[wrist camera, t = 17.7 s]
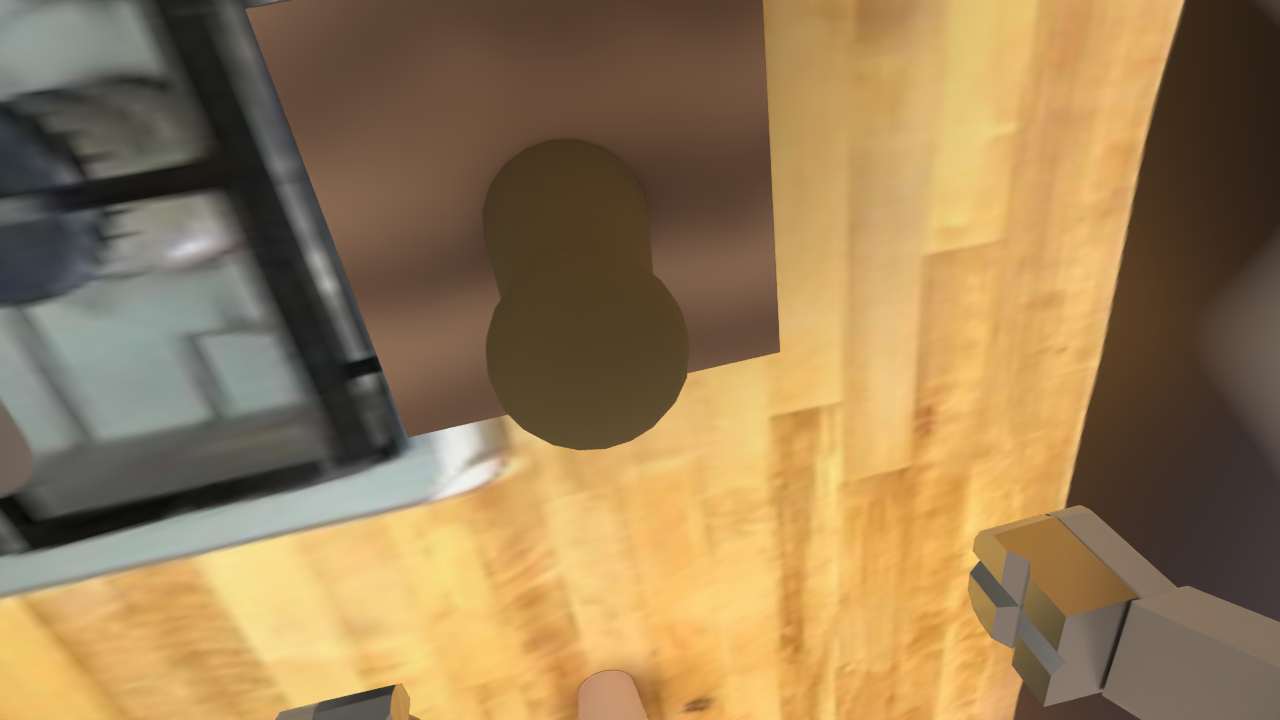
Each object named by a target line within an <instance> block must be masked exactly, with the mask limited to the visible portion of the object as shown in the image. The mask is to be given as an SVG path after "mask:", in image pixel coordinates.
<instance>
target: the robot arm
mask: <svg viewBox="0 0 1280 720" xmlns="http://www.w3.org/2000/svg"><path fill="white" fill-rule="evenodd" d="M973 552H974V553H975V554H976V556H977V557H978V558H979V559H980V561H979V562H978V563H977V565H976V566H975V567H974V568H973V570H972V571H971V572H970V574H969V585H968V591H969V595H970V599H971V603H972V606H973V609H974V611H975V613H976V615H977V617H978V619H979V621H980V623H981V624H982V626H983V627H984V628H985V630H986V631H987V633H988V634H989V635H990V637H991V638H992V639H994V640H996V641H998V642H1000V643H1002V644H1004V645H1006V646H1008V647H1010V648H1012V666H1013V667H1014V669H1015V670H1016V671H1017V672H1018V674H1019V675H1020V676H1021V678H1022V679H1023V680H1024V682H1025V683H1026V684H1027V686H1028V687H1029V688H1030V689H1031V691H1032V692H1033V693H1034V695H1035V696H1036V697H1037V699H1038V700H1039V701H1040V703H1041V704H1042V705H1043V706H1044V707H1045V706H1049V705H1053V704H1056V703H1060V702H1064V701H1068V700H1072V699H1076V698H1080V697H1084V696H1087V695H1091V694H1095V693H1099V692H1103V694H1102V695H1103V696H1104V697H1106V698H1108V699H1109V700H1111V701H1112V702H1114V703H1115V704H1117V705H1119V706H1120V707H1122V708H1123V709H1125V710H1127V711H1128V712H1130V713H1132V714H1133V715H1135V716H1137V717H1138V718H1140V719H1141V720H1280V622H1277V621H1275V620H1272V619H1270V618H1267V617H1265V616H1262V615H1260V614H1257V613H1254V612H1252V611H1250V610H1247V609H1245V608H1242V607H1240V606H1237V605H1235V604H1232V603H1230V602H1227V601H1224V600H1222V599H1219V598H1217V597H1214V596H1212V595H1209V594H1207V593H1204V592H1202V591H1199V590H1197V589H1194V588H1192V587H1189V586H1186V587H1182V588H1177V587H1176V586H1174V585H1173V584H1172V583H1171V582H1170V581H1169V580H1168V579H1167V578H1166V577H1164V576H1163V575H1162V574H1161V573H1160V572H1159V571H1158V570H1156V568H1155V567H1153V566H1152V565H1151V564H1150V563H1149V562H1148V561H1147V560H1146V559H1144V558H1143V557H1142V556H1141V555H1140V554H1139V553H1138V552H1137V551H1136V550H1135V549H1133V548H1132V547H1131V546H1130V545H1129V544H1128V543H1127V542H1126V541H1124V540H1123V539H1122V538H1121V537H1120V536H1119V535H1118V534H1117V533H1116V532H1114V531H1113V530H1112V529H1111V528H1110V527H1109V526H1108V525H1107V524H1106V523H1104V522H1103V521H1102V520H1101V519H1100V518H1099V517H1098V516H1097V515H1095V514H1094V513H1093V512H1092V511H1091V510H1089V509H1087V508H1085V507H1083V506H1080V505H1079V506H1075V507H1071V508H1067V509H1063V510H1059V511H1055V512H1052V513H1048V514H1045V515H1037V516H1033V517H1030V518H1026V519H1023V520H1019V521H1015V522H1012V523H1008V524H1004V525H1001V526H997V527H994V528H990V529H986V530H983V531H980V532H979V534H978V535H977V536H976V537H975V540H974V546H973ZM409 707H410V697H409V696H408V694H407V692H406V690H405V688H404V686H403V685H402V683H401V684H396V685H391V686H387V687H383V688H378V689H374V690H370V691H366V692H361V693H357V694H353V695H348V696H344V697H340V698H335V699H331V700H327V701H323V702H319V703H315V704H311V705H307V706H303V707H299V708H295V709H291V710H287V711H282V712H280V713H279V715H278V716H277V718H276V720H420V719H419V718H417V717H414V716H412V715H410V714H409Z"/></svg>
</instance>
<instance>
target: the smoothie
mask: <svg viewBox="0 0 1280 720" xmlns="http://www.w3.org/2000/svg"><path fill="white" fill-rule="evenodd" d="M578 720H648V718H647V716H646V713H645V710H644V708H643V705H642V702H641V699H640V697H639V694H638V691H637V689H636V686H635V683H634V681H633V679H632V677H631V676H630V675H628V674H627V673H625V672H622V671H616V670H610V671H603V672H599V673H597V674H594V675H592V676H591V677H589V678H587V679H586V680H585V681H584V682H583V683H582V684H581V686H580V687H579V690H578Z"/></svg>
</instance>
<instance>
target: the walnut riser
mask: <svg viewBox="0 0 1280 720" xmlns="http://www.w3.org/2000/svg"><path fill="white" fill-rule="evenodd" d="M245 10H246V13H247V15H248V18H249V21H250V23H251V26H252V28H253V31H254V34H255V36H256V39H257V42H258V44H259V47H260V49H261V52H262V55H263V57H264V60H265V63H266V65H267V68H268V70H269V73H270V76H271V78H272V81H273V84H274V86H275V89H276V91H277V94H278V97H279V99H280V102H281V105H282V107H283V110H284V113H285V115H286V118H287V120H288V123H289V126H290V128H291V131H292V134H293V136H294V139H295V141H296V144H297V147H298V149H299V152H300V155H301V157H302V160H303V162H304V165H305V168H306V170H307V173H308V176H309V178H310V181H311V183H312V186H313V189H314V191H315V194H316V197H317V199H318V202H319V204H320V207H321V210H322V212H323V215H324V218H325V220H326V223H327V225H328V228H329V231H330V233H331V236H332V239H333V241H334V244H335V247H336V249H337V252H338V254H339V257H340V260H341V262H342V265H343V268H344V270H345V273H346V275H347V278H348V281H349V283H350V286H351V289H352V291H353V294H354V296H355V299H356V302H357V304H358V307H359V310H360V312H361V315H362V317H363V320H364V323H365V325H366V328H367V331H368V333H369V336H370V338H371V341H372V344H373V346H374V349H375V352H376V354H377V357H378V360H379V362H380V365H381V367H382V370H383V373H384V375H385V378H386V381H387V383H388V386H389V388H390V391H391V394H392V396H393V399H394V402H395V404H396V407H397V409H398V412H399V415H400V417H401V420H402V423H403V425H404V428H405V430H406V433H407V436H408V437H412V436H416V435H421V434H425V433H429V432H434V431H438V430H442V429H447V428H451V427H455V426H460V425H464V424H469V423H473V422H477V421H482V420H486V419H490V418H495V417H499V416H503V415H508V414H507V413H506V412H505V411H504V409H503V407H502V405H501V403H500V401H499V399H498V397H497V395H496V392H495V390H494V388H493V386H492V384H491V381H490V379H489V377H488V372H487V359H486V338H487V333H488V330H489V326H490V323H491V320H492V316H493V313H494V310H495V307H496V306H497V304H498V303H499V302H500V300H501V298H500V294H499V290H498V286H497V283H496V279H495V275H494V271H493V268H492V264H491V260H490V256H489V253H488V249H487V245H486V241H485V237H484V226H483V212H482V211H483V208H484V204H485V200H486V197H487V193H488V190H489V186H490V185H491V183H492V182H493V181H494V179H495V178H496V176H497V175H498V173H499V172H500V170H501V169H502V168H503V166H504V165H505V164H506V163H508V162H509V161H510V160H512V159H513V158H514V157H516V156H517V155H518V154H520V153H521V152H523V151H524V150H525V149H527V148H530V147H533V146H537V145H540V144H543V143H546V142H549V141H552V140H563V141H583V142H586V143H589V144H592V145H595V146H598V147H601V148H603V149H606V150H607V151H609V152H610V153H611V154H613V155H614V156H615V157H617V158H618V159H619V160H621V161H622V162H623V163H625V164H626V165H627V166H628V167H629V169H630V170H631V172H632V173H633V175H634V176H635V178H636V179H637V180H638V182H639V183H640V185H641V186H642V190H643V193H644V197H645V201H646V204H647V208H648V214H649V226H650V239H651V251H652V264H653V275H655V276H656V277H658V278H659V279H660V280H661V281H662V282H663V283H664V285H665V286H666V288H667V289H668V290H669V292H670V293H671V294H672V296H673V297H674V299H675V300H676V301H677V303H678V305H679V307H680V309H681V311H682V313H683V317H684V320H685V324H686V328H687V331H688V335H689V338H690V346H689V359H688V370H687V373H691V372H695V371H699V370H704V369H708V368H712V367H717V366H721V365H725V364H730V363H734V362H739V361H743V360H747V359H752V358H756V357H760V356H765V355H769V354H773V353H778V352H780V341H779V321H778V301H777V281H776V261H775V241H774V221H773V201H772V180H771V160H770V140H769V120H768V100H767V80H766V60H765V40H764V20H763V0H282V1H277V2H273V3H269V4H265V5H260V6H256V7H252V8H248V9H245Z"/></svg>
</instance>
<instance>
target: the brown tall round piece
mask: <svg viewBox="0 0 1280 720" xmlns="http://www.w3.org/2000/svg"><path fill="white" fill-rule="evenodd" d="M482 212H483V226H484V237H485V241H486V245H487V249H488V253H489V256H490V260H491V264H492V268H493V271H494V275H495V279H496V283H497V286H498V290H499V294H500V298H501V300H500V302H499V303H498V304H497V306H496V307H495V310H494V313H493V316H492V320H491V323H490V326H489V330H488V333H487V338H486V359H487V372H488V377H489V379H490V381H491V384H492V386H493V388H494V390H495V392H496V395H497V397H498V399H499V401H500V403H501V405H502V407H503V409H504V411H505V412H506V413H507V414H508V415H509V416H510V417H511V418H512V419H513V420H514V421H515V422H516V423H518V424H519V425H520V426H521V427H522V428H523V429H524V430H526V431H527V432H529V433H531V434H533V435H535V436H537V437H539V438H541V439H543V440H545V441H547V442H549V443H550V444H552V445H556V446H561V447H566V448H571V449H576V450H592V449H606V448H610V447H613V446H616V445H619V444H622V443H626V442H629V441H631V440H633V439H635V438H636V437H638V436H640V435H641V434H643V433H644V432H646V431H648V430H649V429H651V428H652V427H654V425H655V424H656V423H657V422H658V421H659V420H660V419H661V418H662V417H663V416H664V414H665V413H666V412H667V411H668V410H669V409H670V408H671V407H672V405H673V404H674V403H675V402H676V400H677V398H678V396H679V393H680V391H681V389H682V387H683V385H684V383H685V380H686V378H687V370H688V359H689V346H690V338H689V335H688V331H687V328H686V324H685V320H684V317H683V313H682V311H681V309H680V307H679V305H678V303H677V301H676V300H675V299H674V297H673V296H672V294H671V293H670V292H669V290H668V289H667V288H666V286H665V285H664V283H663V282H662V281H661V280H660V279H659V278H658V277H656V276H655V275H653V264H652V251H651V239H650V226H649V214H648V208H647V204H646V201H645V197H644V193H643V190H642V186H641V185H640V183H639V182H638V180H637V179H636V178H635V176H634V175H633V173H632V172H631V170H630V169H629V167H628V166H627V165H626V164H625V163H623V162H622V161H621V160H619V159H618V158H617V157H615V156H614V155H613V154H611V153H610V152H609V151H607V150H606V149H603V148H601V147H598V146H595V145H592V144H589V143H586V142H583V141H563V140H552V141H549V142H546V143H543V144H540V145H537V146H533V147H530V148H527V149H525V150H524V151H523V152H521V153H520V154H518V155H517V156H516V157H514V158H513V159H512V160H510V161H509V162H508V163H506V164H505V165H504V166H503V168H502V169H501V170H500V172H499V173H498V175H497V176H496V178H495V179H494V181H493V182H492V183H491V185H490V186H489V190H488V193H487V197H486V200H485V204H484V208H483V211H482Z"/></svg>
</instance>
